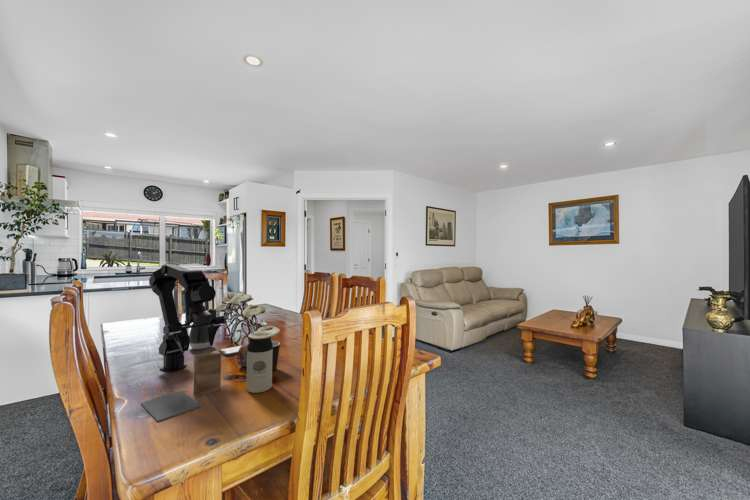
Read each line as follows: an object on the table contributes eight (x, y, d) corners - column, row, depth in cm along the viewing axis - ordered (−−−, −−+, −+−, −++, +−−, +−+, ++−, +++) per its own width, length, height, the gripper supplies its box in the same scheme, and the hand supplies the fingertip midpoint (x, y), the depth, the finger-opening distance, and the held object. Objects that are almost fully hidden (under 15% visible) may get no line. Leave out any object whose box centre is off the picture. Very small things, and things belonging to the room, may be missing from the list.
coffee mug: (284, 367, 124) (284, 342, 124) (269, 375, 116) (270, 348, 116) (259, 364, 128) (260, 339, 128) (244, 371, 119) (245, 345, 119)
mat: (140, 404, 93) (140, 402, 93) (181, 391, 101) (181, 390, 101) (157, 422, 83) (157, 420, 83) (201, 406, 92) (201, 405, 92)
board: (193, 393, 101) (194, 355, 101) (215, 386, 106) (216, 350, 106) (197, 396, 98) (198, 358, 99) (220, 389, 104) (221, 353, 104)
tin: (242, 369, 121) (242, 348, 121) (235, 369, 122) (235, 347, 122) (263, 357, 136) (264, 337, 136) (257, 356, 137) (257, 337, 137)
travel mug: (251, 383, 109) (252, 331, 109) (274, 383, 109) (275, 331, 109) (242, 393, 101) (244, 337, 101) (268, 393, 101) (269, 337, 101)
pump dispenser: (182, 350, 143) (183, 317, 143) (199, 344, 153) (200, 312, 153) (201, 352, 141) (202, 318, 141) (218, 345, 151) (218, 314, 151)
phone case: (253, 346, 153) (218, 352, 142) (253, 343, 153) (218, 349, 142) (261, 351, 146) (225, 357, 135) (261, 347, 146) (225, 354, 135)
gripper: (173, 306, 100) (176, 356, 98) (230, 299, 115) (234, 342, 113) (161, 309, 107) (164, 356, 105) (216, 302, 122) (220, 343, 120)
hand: (197, 349), depth 110 cm, fingers open, 9 cm apart
